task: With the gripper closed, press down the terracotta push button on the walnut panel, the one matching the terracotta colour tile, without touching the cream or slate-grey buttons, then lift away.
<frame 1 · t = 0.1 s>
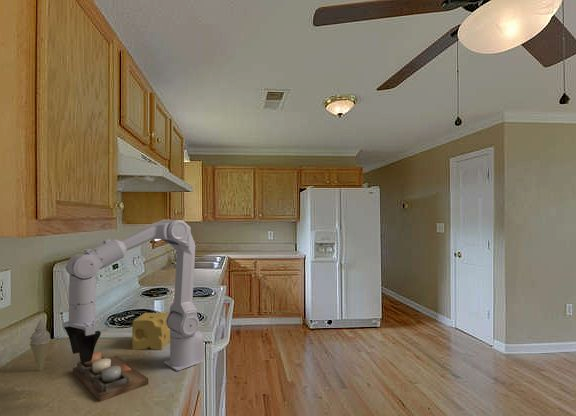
hand: (81, 357, 88), 10 cm above the countertop, tool pointing down, fingers open, 7 cm apart
terracotta button: (92, 358, 101), point 4 cm above the countertop, slide at 0.0 cm
cheese: (152, 345, 124), on the countertop
button panel: (109, 378, 98), on the countertop
ice cream cone: (40, 371, 103), on the countertop
slate button: (111, 373, 92), point 4 cm above the countertop, slide at 0.0 cm
cream button: (101, 365, 97), point 4 cm above the countertop, slide at 0.0 cm
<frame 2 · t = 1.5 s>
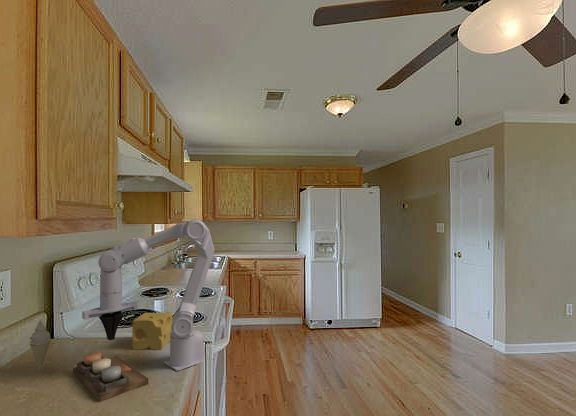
hand: (110, 338, 102), 9 cm above the countertop, tool pointing down, fingers closed
nothing on the countertop moved.
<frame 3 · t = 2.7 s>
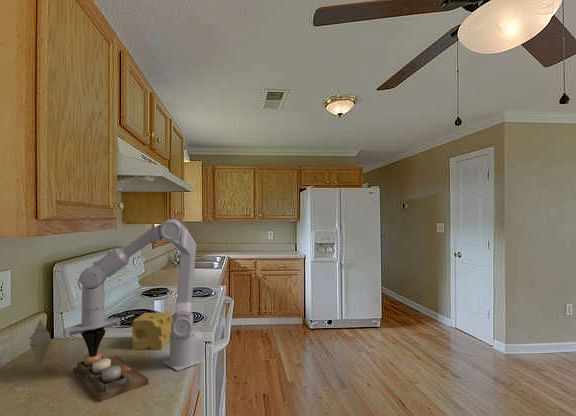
hand: (92, 355, 101), 5 cm above the countertop, tool pointing down, fingers closed, pressing on terracotta button
terracotta button: (92, 358, 101), point 4 cm above the countertop, slide at 0.2 cm, touching gripper
everything else where it was.
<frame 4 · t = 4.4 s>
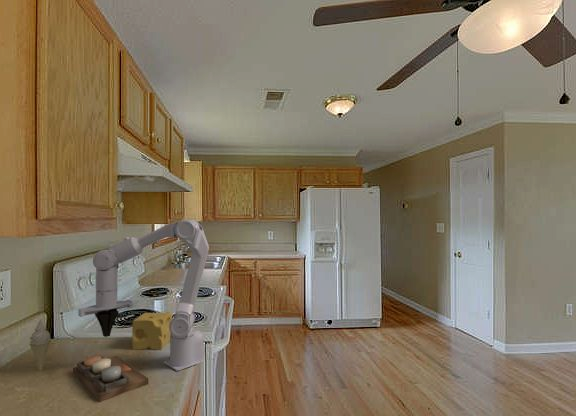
hand: (106, 335, 105), 9 cm above the countertop, tool pointing down, fingers closed
terracotta button: (92, 362, 101), point 3 cm above the countertop, slide at 1.2 cm
everything else where it was.
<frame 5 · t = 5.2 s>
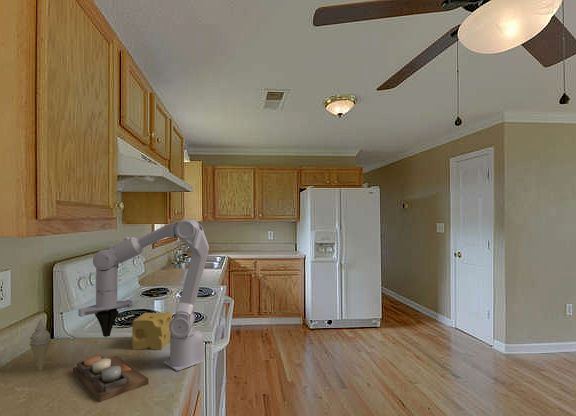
hand: (106, 335, 105), 9 cm above the countertop, tool pointing down, fingers closed
nothing on the countertop moved.
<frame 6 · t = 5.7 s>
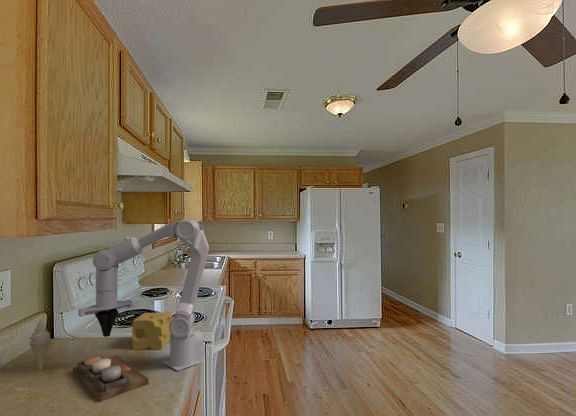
hand: (106, 335, 105), 9 cm above the countertop, tool pointing down, fingers closed
nothing on the countertop moved.
at the end: terracotta button slide at 1.2 cm; cream button slide at 0.0 cm; slate button slide at 0.0 cm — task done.
